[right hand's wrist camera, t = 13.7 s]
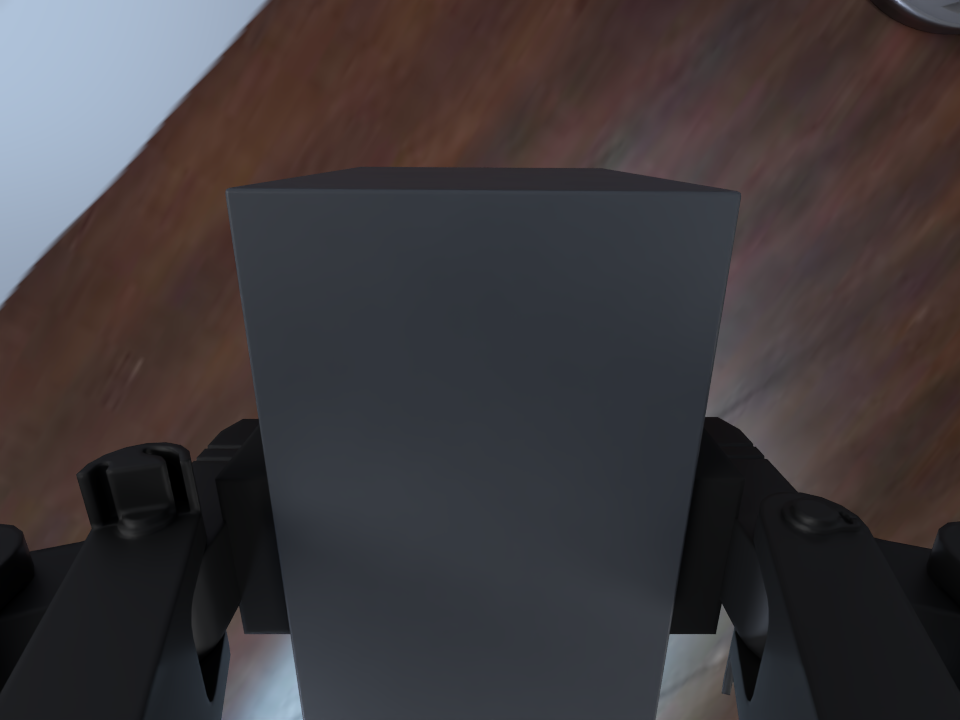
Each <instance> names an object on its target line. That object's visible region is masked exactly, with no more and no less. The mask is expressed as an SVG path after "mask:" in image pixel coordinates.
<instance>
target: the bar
mask: <svg viewBox="0 0 960 720" xmlns="http://www.w3.org/2000/svg"><path fill="white" fill-rule="evenodd" d="M226 200H227V207H228V214H229V221H230V227H231V234H232V241H233V248H234V254H235V261H236V268H237V275H238V282H239V288H240V295H241V302H242V309H243V315H244V322H245V329H246V336H247V343H248V349H249V356H250V363H251V370H252V376H253V383H254V390H255V397H256V404H257V410H258V417H259V424H260V431H261V437H262V444H263V451H264V458H265V465H266V471H267V478H268V485H269V492H270V498H271V505H272V512H273V519H274V526H275V532H276V539H277V546H278V553H279V559H280V566H281V573H282V580H283V587H284V593H285V600H286V607H287V614H288V620H289V627H290V634H291V641H292V647H293V654H294V661H295V668H296V675H297V681H298V688H299V695H300V702H301V708H302V715H303V720H655V719H656V713H657V707H658V701H659V695H660V688H661V682H662V676H663V670H664V664H665V658H666V652H667V646H668V640H669V633H670V627H671V621H672V615H673V609H674V603H675V597H676V591H677V585H678V578H679V572H680V566H681V560H682V554H683V548H684V542H685V536H686V530H687V523H688V517H689V511H690V505H691V499H692V493H693V487H694V481H695V475H696V468H697V462H698V456H699V450H700V444H701V438H702V432H703V426H704V420H705V413H706V407H707V401H708V395H709V389H710V383H711V377H712V371H713V365H714V358H715V352H716V346H717V340H718V334H719V328H720V322H721V316H722V310H723V304H724V297H725V291H726V285H727V279H728V273H729V267H730V261H731V255H732V249H733V242H734V236H735V230H736V224H737V218H738V212H739V206H740V200H741V193H740V192H737V191H733V190H727V189H721V188H715V187H709V186H703V185H697V184H691V183H685V182H679V181H673V180H667V179H661V178H656V177H650V176H644V175H638V174H632V173H626V172H620V171H614V170H608V169H602V168H451V167H357V168H351V169H345V170H339V171H332V172H326V173H320V174H314V175H307V176H301V177H295V178H289V179H282V180H276V181H270V182H264V183H257V184H251V185H245V186H239V187H232V188H228V189H226Z"/></svg>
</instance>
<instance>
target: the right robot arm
mask: <svg viewBox="0 0 960 720" xmlns="http://www.w3.org/2000/svg"><path fill="white" fill-rule="evenodd" d="M871 1H872V2H873V3H874V4H875V5H876V6H877V7H878V8H879V9H880V10H882V11H883V12H884V13H886V14H887V15H888V16H890V17H891V18H893V19H895V20H897V21H898V22H900V23H902V24H904V25H907V26H909V27H912V28H914V29H917V30H921V31H925V32H929V33H937V34H960V0H871ZM76 476H77V479H78V483H79V486H80V489H81V493H82V496H83V500H84V503H85V507H86V510H87V513H88V517H89V520H90V524H91V527H92V529H91V531H90V533H89V535H88V537H87V538H86V540H85V541H82V542H78V543H72V544H67V545H62V546H57V547H51V548H46V549H41V550H36V551H31V552H29V549H28V546H27V543H26V540H25V538H24V535H23V532H22V531H21V530H19V529H18V528H17V527H15V526H14V525H5V524H0V720H221V716H222V710H223V703H224V696H225V689H226V682H227V675H228V668H229V661H230V648H229V641H228V637H227V632H226V629H227V627H228V625H229V623H230V621H231V619H232V617H233V616H234V614H235V612H236V610H237V608H238V606H239V608H240V613H241V618H242V623H243V628H244V634H290V627H289V620H288V614H287V607H286V600H285V593H284V587H283V580H282V573H281V566H280V559H279V553H278V546H277V539H276V532H275V526H274V519H273V512H272V505H271V498H270V492H269V485H268V478H267V471H266V465H265V458H264V451H263V444H262V437H261V431H260V424H259V419H242V420H240V421H239V422H237V423H235V424H233V425H232V426H230V427H228V428H226V429H224V430H223V431H221V432H220V433H219V434H218V435H217V436H216V437H215V439H214V440H213V441H212V442H211V443H210V444H209V445H208V449H204V451H203V452H202V453H201V454H200V455H199V456H198V457H197V461H193V463H192V462H191V457H190V452H189V451H188V450H187V449H186V448H184V447H183V446H181V445H177V444H172V443H166V442H165V443H146V444H141V445H136V446H131V447H126V448H123V449H120V450H117V451H114V452H111V453H108V454H106V455H104V456H102V457H100V458H98V459H96V460H94V461H93V462H91V463H89V464H87V465H86V466H85V467H84V468H83V469H82V470H81V471H80V472H79V473H78V474H77V475H76ZM721 604H723V606H724V608H725V610H726V612H727V614H728V616H729V617H730V619H731V621H732V623H733V625H734V632H733V637H732V641H731V646H730V651H729V656H728V661H727V666H726V671H725V675H724V680H723V688H722V693H723V694H727V695H730V692H731V688H732V683H733V682H734V687H735V694H736V701H737V708H738V715H739V720H960V522H950V523H947V524H945V525H944V526H943V527H941V528H940V529H939V530H938V533H937V536H936V539H935V542H934V545H933V548H932V549H928V548H923V547H918V546H912V545H907V544H902V543H897V542H891V541H886V540H881V539H877V538H874V537H873V536H872V534H871V532H870V530H869V528H868V527H867V526H866V525H865V524H864V523H863V521H862V520H861V519H860V518H859V517H858V516H857V515H855V514H854V513H852V512H851V511H849V510H848V509H846V508H845V507H843V506H841V505H839V504H837V503H834V502H832V501H829V500H827V499H825V498H822V497H818V496H814V495H810V494H805V493H800V492H797V491H796V490H795V489H794V488H793V487H792V485H791V484H790V483H789V482H788V481H787V480H786V479H785V478H784V477H783V476H782V475H781V474H780V472H779V471H778V470H777V469H776V468H775V467H774V466H773V465H772V464H771V463H770V462H769V461H768V460H767V459H764V455H763V454H762V453H761V452H760V451H759V450H758V449H757V448H756V447H753V443H752V442H751V441H750V440H749V439H748V438H747V437H746V436H745V435H744V434H743V433H742V431H741V430H740V429H738V428H736V427H734V426H733V425H731V424H729V423H727V422H726V421H724V420H722V419H720V418H718V417H705V420H704V426H703V432H702V438H701V444H700V450H699V456H698V462H697V468H696V475H695V481H694V487H693V493H692V499H691V505H690V511H689V517H688V523H687V530H686V536H685V542H684V548H683V554H682V560H681V566H680V572H679V578H678V585H677V591H676V597H675V603H674V609H673V615H672V621H671V627H670V633H669V634H716V630H717V625H718V620H719V615H720V610H721Z"/></svg>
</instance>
